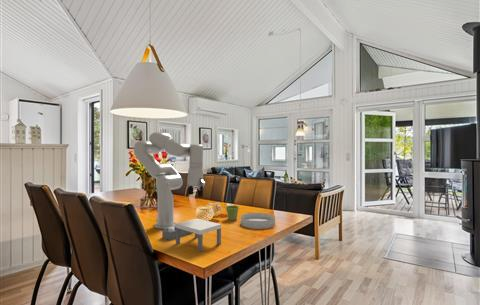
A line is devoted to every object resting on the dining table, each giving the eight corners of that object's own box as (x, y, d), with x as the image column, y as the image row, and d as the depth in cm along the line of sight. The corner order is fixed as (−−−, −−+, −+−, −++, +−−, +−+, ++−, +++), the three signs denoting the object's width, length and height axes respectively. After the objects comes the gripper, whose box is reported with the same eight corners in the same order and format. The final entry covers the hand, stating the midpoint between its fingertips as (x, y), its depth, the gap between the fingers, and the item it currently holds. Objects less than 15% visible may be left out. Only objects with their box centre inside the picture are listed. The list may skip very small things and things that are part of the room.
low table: (175, 243, 134) (175, 223, 134) (196, 236, 145) (196, 218, 145) (200, 252, 123) (200, 230, 123) (220, 244, 134) (221, 224, 134)
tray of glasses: (162, 238, 143) (162, 228, 143) (187, 230, 158) (187, 221, 158) (170, 240, 139) (170, 230, 139) (195, 232, 154) (195, 223, 154)
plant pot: (222, 219, 183) (222, 206, 183) (232, 217, 190) (232, 204, 190) (231, 221, 177) (231, 208, 177) (241, 219, 183) (242, 206, 183)
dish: (273, 230, 159) (273, 222, 159) (237, 228, 163) (237, 219, 163) (276, 221, 181) (276, 213, 181) (244, 219, 185) (244, 211, 185)
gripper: (182, 165, 156) (181, 194, 156) (199, 167, 144) (198, 198, 144) (193, 164, 161) (192, 193, 162) (210, 166, 149) (209, 197, 149)
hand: (195, 195), depth 153 cm, fingers open, 9 cm apart
